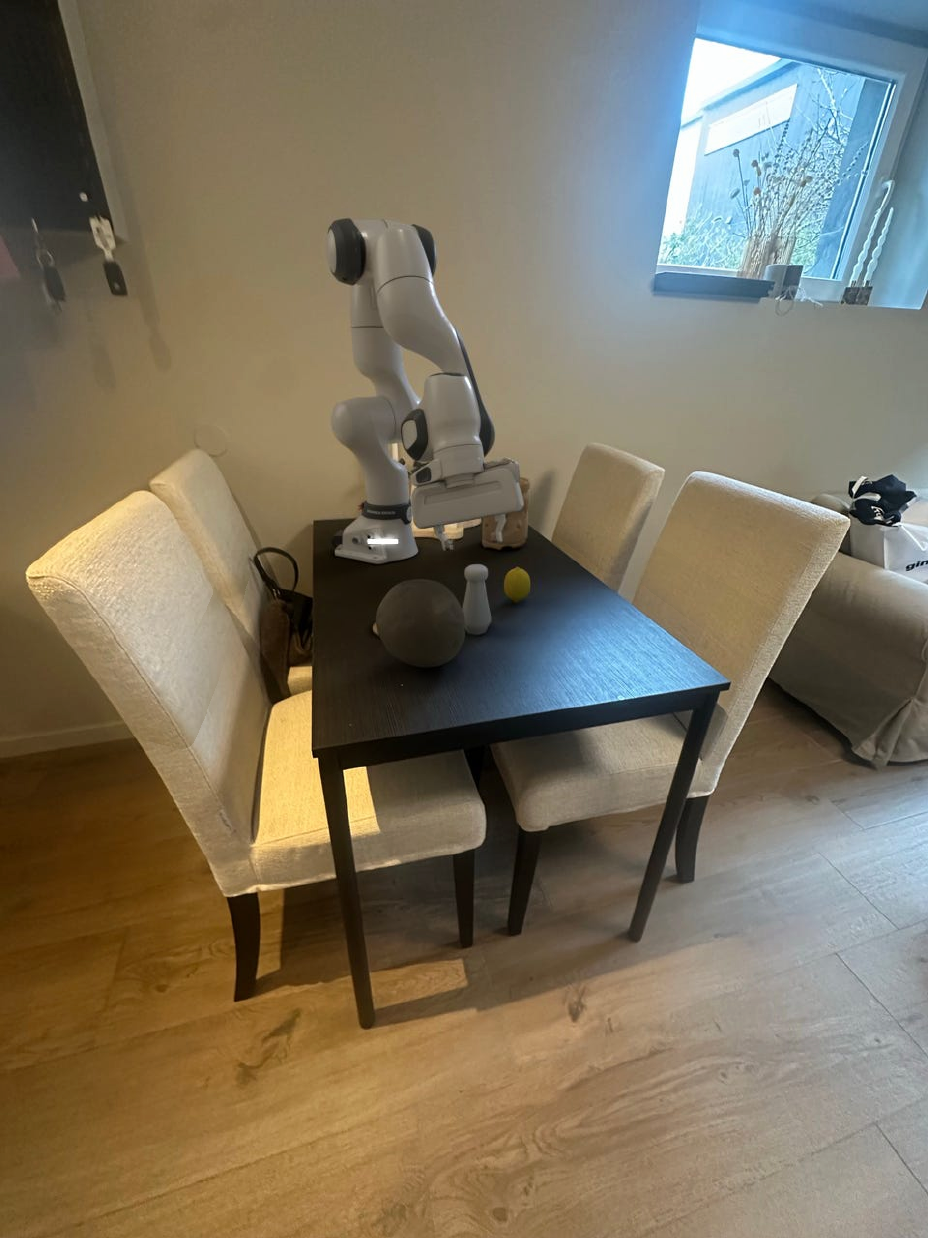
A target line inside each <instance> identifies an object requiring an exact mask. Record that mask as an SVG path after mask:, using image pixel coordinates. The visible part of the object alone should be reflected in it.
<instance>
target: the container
mask: <svg viewBox="0 0 928 1238" xmlns="http://www.w3.org/2000/svg"><path fill="white" fill-rule="evenodd" d="M518 482H519V485H520V489H521V493H522V497H523V502H524V506H523V508H522V510H521V511H519V512H514V513H509V514H505V518H506V522H505V524H504V527H503V529H502V531H501V534H502V541H501V542H495V543H493V542H492V537H491V533H493V532H495V530H496V527H497V524H498V522H496V521H495V517H494V516H492V517H487V518H482V530H481V531H482V538H481V542H482V543H481V545H482V546H483V547H484V549H485V548H491V549H495V550H498V551H501V550H502V549H503V548H510V549H517V548H521V547H522V546H523V545H524V544H525V543H526V542H527V540H526V539H527V538H528V530H529V529H528V527H529V513H528V509H529V507H530V506H529V505H530V491H529V490H530V488H531V480H530V478H527V477H523V476H520V479H519V481H518Z"/></svg>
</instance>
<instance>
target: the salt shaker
mask: <svg viewBox="0 0 928 1238" xmlns="http://www.w3.org/2000/svg"><path fill="white" fill-rule="evenodd" d="M488 577H489V569H488V567H487V566H485V565H484V564H480V563H474V564H473V563H472V564H469V565H468V566H466V567H465V568H464V579H465V580H466V586H465V592H464V597H463V598H464V599H463V603H462V610H463V613H464V617H465V626H464V630H465V632H466V633H467V634H468V635H476V636H479V635H482V634H485V633H486V632H487V631H488V628H489V627H490V625H491V623H492V614H491V609H490V605H489V599H488V593H487V592H488V591H487V587H486V582H485V581H487V579H488Z"/></svg>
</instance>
